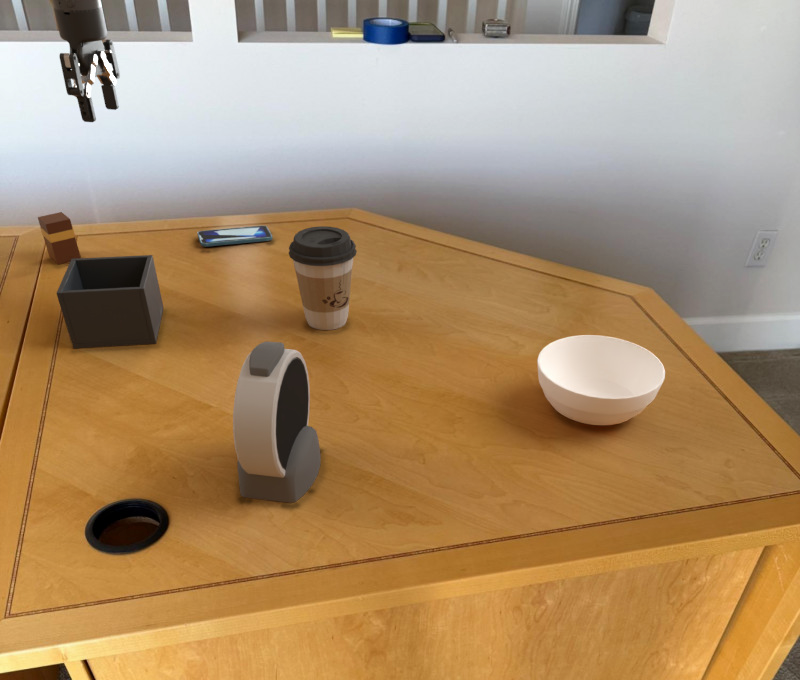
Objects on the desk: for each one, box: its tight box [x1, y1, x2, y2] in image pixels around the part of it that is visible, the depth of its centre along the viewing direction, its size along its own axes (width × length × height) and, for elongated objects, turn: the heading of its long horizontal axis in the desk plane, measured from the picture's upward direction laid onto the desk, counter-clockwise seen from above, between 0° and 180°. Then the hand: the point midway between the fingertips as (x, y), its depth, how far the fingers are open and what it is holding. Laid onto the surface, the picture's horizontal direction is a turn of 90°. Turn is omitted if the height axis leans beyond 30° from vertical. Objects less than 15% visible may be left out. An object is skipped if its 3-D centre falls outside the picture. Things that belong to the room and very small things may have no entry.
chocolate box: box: [37, 211, 82, 265], centre depth 154 cm, size 5×5×8 cm
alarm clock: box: [232, 340, 322, 504], centre depth 98 cm, size 16×10×18 cm, turn 170°
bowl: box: [536, 334, 666, 426], centre depth 114 cm, size 18×18×7 cm
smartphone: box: [197, 224, 273, 247], centre depth 164 cm, size 7×1×15 cm
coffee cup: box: [288, 225, 358, 331], centre depth 132 cm, size 11×11×15 cm
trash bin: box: [55, 254, 164, 350], centre depth 132 cm, size 14×14×10 cm
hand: (101, 115), depth 136 cm, fingers open, 8 cm apart
